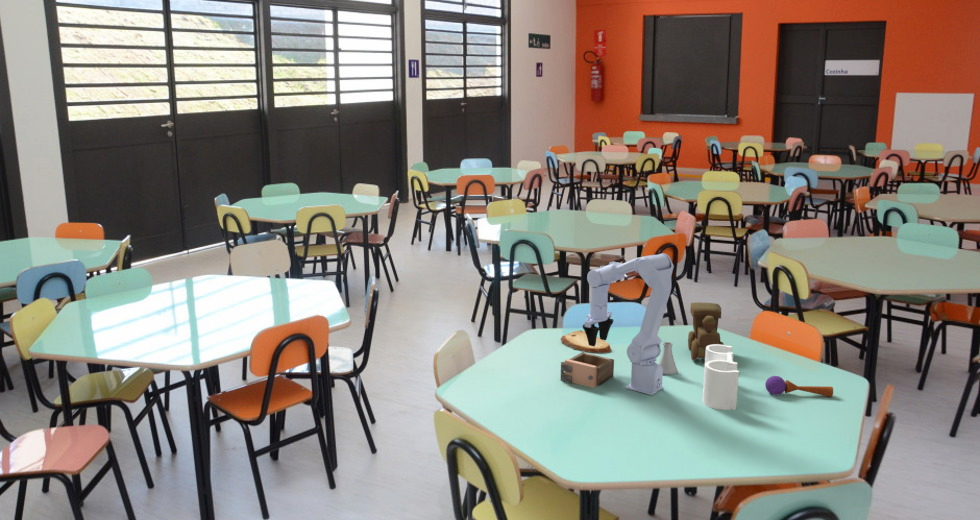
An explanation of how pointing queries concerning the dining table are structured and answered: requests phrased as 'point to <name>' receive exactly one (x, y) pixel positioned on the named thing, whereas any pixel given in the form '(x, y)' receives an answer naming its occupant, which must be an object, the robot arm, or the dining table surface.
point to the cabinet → (603, 364)
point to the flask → (668, 360)
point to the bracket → (720, 378)
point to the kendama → (794, 387)
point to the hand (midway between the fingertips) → (597, 342)
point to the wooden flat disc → (585, 343)
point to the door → (582, 373)
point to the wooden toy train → (703, 328)
